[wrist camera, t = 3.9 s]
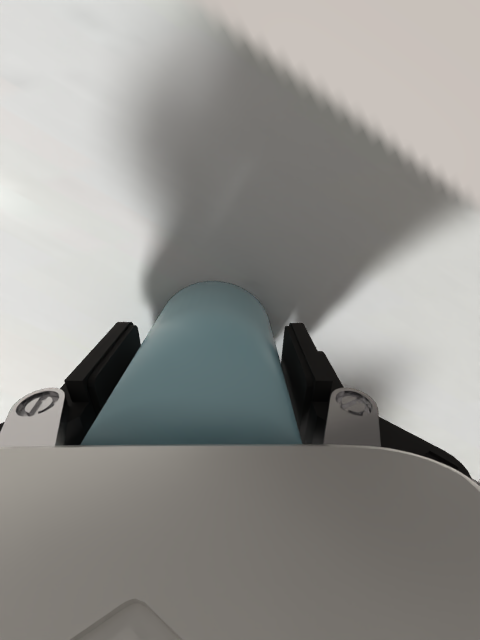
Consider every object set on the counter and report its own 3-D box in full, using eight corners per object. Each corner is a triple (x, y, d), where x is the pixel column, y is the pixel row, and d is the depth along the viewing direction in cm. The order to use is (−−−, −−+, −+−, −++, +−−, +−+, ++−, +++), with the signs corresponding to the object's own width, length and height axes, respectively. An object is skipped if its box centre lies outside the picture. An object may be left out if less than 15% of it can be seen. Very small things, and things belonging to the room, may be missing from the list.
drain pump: (274, 281, 12) (350, 452, 4) (265, 398, 15) (299, 621, 7) (151, 280, 12) (-14, 455, 4) (168, 398, 15) (94, 626, 7)
